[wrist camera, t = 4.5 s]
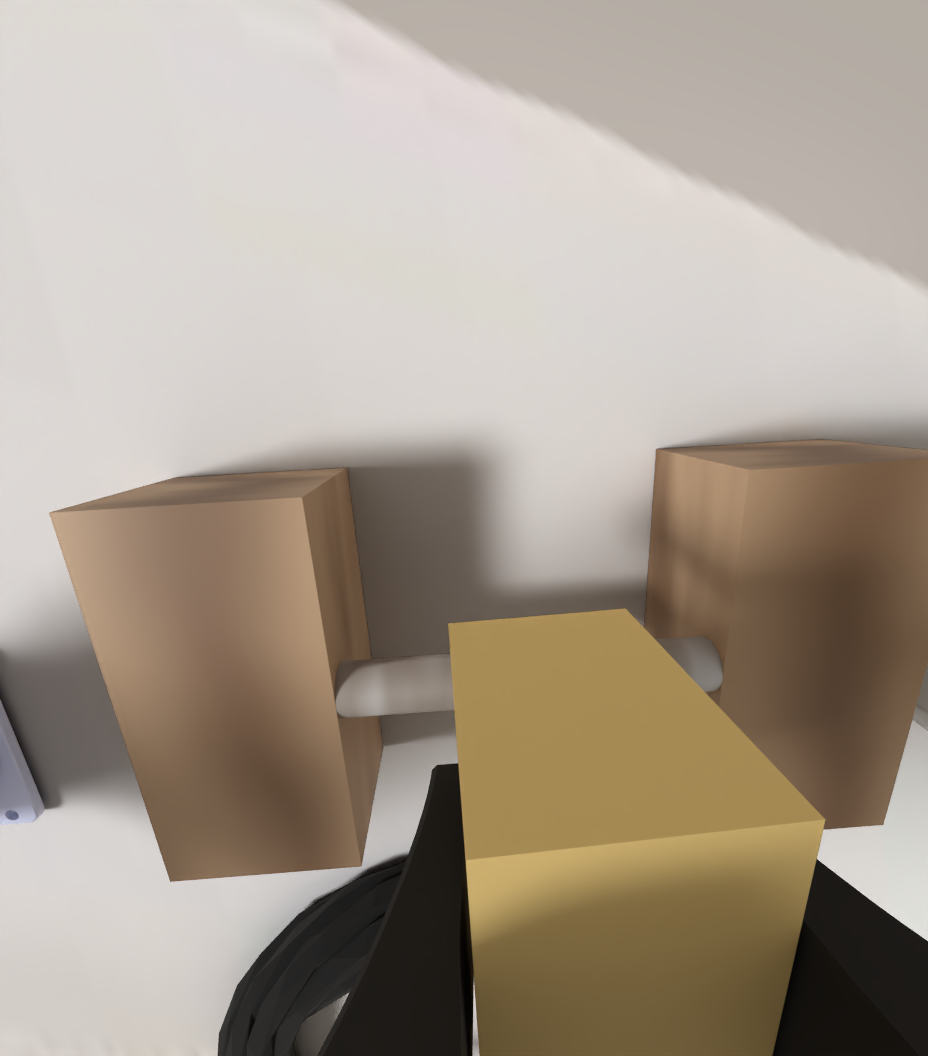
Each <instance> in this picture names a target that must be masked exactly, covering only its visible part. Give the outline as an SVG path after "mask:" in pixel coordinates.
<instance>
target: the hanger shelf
mask: <svg viewBox="0 0 928 1056" xmlns="http://www.w3.org/2000/svg"><path fill="white" fill-rule="evenodd" d="M49 514H50V517H51V520H52V523H53V526H54V529H55V532H56V535H57V538H58V541H59V544H60V547H61V550H62V554H63V557H64V560H65V563H66V566H67V569H68V572H69V575H70V578H71V581H72V584H73V587H74V590H75V593H76V596H77V599H78V602H79V605H80V608H81V611H82V614H83V617H84V620H85V623H86V627H87V630H88V633H89V636H90V639H91V642H92V645H93V648H94V651H95V654H96V657H97V660H98V663H99V666H100V669H101V672H102V675H103V678H104V681H105V684H106V687H107V690H108V693H109V696H110V700H111V703H112V706H113V709H114V712H115V715H116V718H117V721H118V724H119V727H120V730H121V733H122V736H123V739H124V742H125V745H126V748H127V751H128V754H129V757H130V760H131V763H132V766H133V770H134V773H135V776H136V779H137V782H138V785H139V788H140V791H141V794H142V797H143V800H144V803H145V806H146V809H147V812H148V815H149V818H150V821H151V824H152V827H153V830H154V833H155V836H156V839H157V843H158V846H159V849H160V852H161V855H162V858H163V861H164V864H165V867H166V870H167V873H168V876H169V879H170V882H172V881H184V880H197V879H209V878H222V877H235V876H247V875H260V874H272V873H285V872H297V871H310V870H322V869H335V868H347V867H360V866H362V860H363V855H364V849H365V844H366V838H367V833H368V827H369V822H370V816H371V811H372V805H373V800H374V794H375V789H376V784H377V778H378V773H379V767H380V762H381V756H382V751H383V742H382V735H381V727H380V719H379V715H393V714H407V713H421V712H434V711H448V710H454V697H453V683H452V670H451V656H450V654H436V655H421V656H407V657H392V658H378V659H372V657H371V649H370V642H369V634H368V626H367V618H366V611H365V603H364V595H363V588H362V580H361V572H360V564H359V557H358V549H357V541H356V533H355V526H354V518H353V510H352V502H351V495H350V487H349V479H348V471H347V468H330V469H314V470H297V471H280V472H264V473H247V474H230V475H213V476H197V477H180V478H172V479H168V480H165V481H161V482H157V483H154V484H150V485H147V486H143V487H140V488H136V489H132V490H129V491H125V492H122V493H118V494H114V495H111V496H107V497H104V498H100V499H97V500H93V501H89V502H86V503H82V504H79V505H75V506H71V507H68V508H64V509H61V510H57V511H53V512H50V513H49ZM644 628H645V629H646V630H647V631H648V632H649V634H650V635H651V636H652V637H653V638H654V639H655V640H656V641H657V642H658V643H659V644H660V645H661V646H662V647H663V648H664V649H665V650H666V652H667V653H668V654H669V655H670V656H671V657H672V658H673V659H674V660H675V661H676V662H677V663H678V664H679V665H680V666H681V667H682V668H683V670H684V671H685V672H686V673H687V674H688V675H689V676H690V677H691V678H692V679H693V680H694V681H695V682H696V683H697V684H698V685H699V686H700V687H701V689H702V690H703V691H704V692H705V693H706V694H707V695H708V696H709V697H710V698H711V699H712V700H713V701H714V702H715V703H716V704H717V705H718V707H719V708H720V709H721V710H722V711H723V712H724V713H725V714H726V715H727V716H728V717H729V718H730V719H731V720H732V721H733V722H734V723H735V724H736V726H737V727H738V728H739V729H740V730H741V731H742V732H743V733H744V734H745V735H746V736H747V737H748V738H749V739H750V740H751V741H752V742H753V744H754V745H755V746H756V747H757V748H758V749H759V750H760V751H761V752H762V753H763V754H764V755H765V756H766V757H767V758H768V759H769V760H770V761H771V763H772V764H773V765H774V766H775V767H776V768H777V769H778V770H779V771H780V772H781V773H782V774H783V775H784V776H785V777H786V778H787V779H788V781H789V782H790V783H791V784H792V785H793V786H794V787H795V788H796V789H797V790H798V791H799V792H800V793H801V794H802V795H803V796H804V797H805V799H806V800H807V801H808V802H809V803H810V804H811V805H812V806H813V807H814V808H815V809H816V810H817V811H818V812H819V813H820V814H821V815H822V816H823V818H824V819H825V824H824V828H823V829H836V828H848V827H861V826H873V825H883V824H884V820H885V817H886V813H887V809H888V806H889V802H890V798H891V795H892V791H893V788H894V784H895V780H896V777H897V773H898V769H899V766H900V762H901V759H902V755H903V751H904V748H905V744H906V740H907V737H908V733H909V730H910V726H911V722H912V719H913V715H914V711H915V708H916V704H917V701H918V697H919V693H920V690H921V686H922V682H923V679H924V675H925V671H926V668H927V664H928V450H924V449H914V448H904V447H894V446H884V445H874V444H864V443H854V442H844V441H834V440H824V439H816V440H799V441H782V442H766V443H749V444H732V445H715V446H699V447H682V448H665V449H656V460H655V475H654V490H653V505H652V520H651V534H650V549H649V564H648V579H647V594H646V609H645V624H644Z"/></svg>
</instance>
